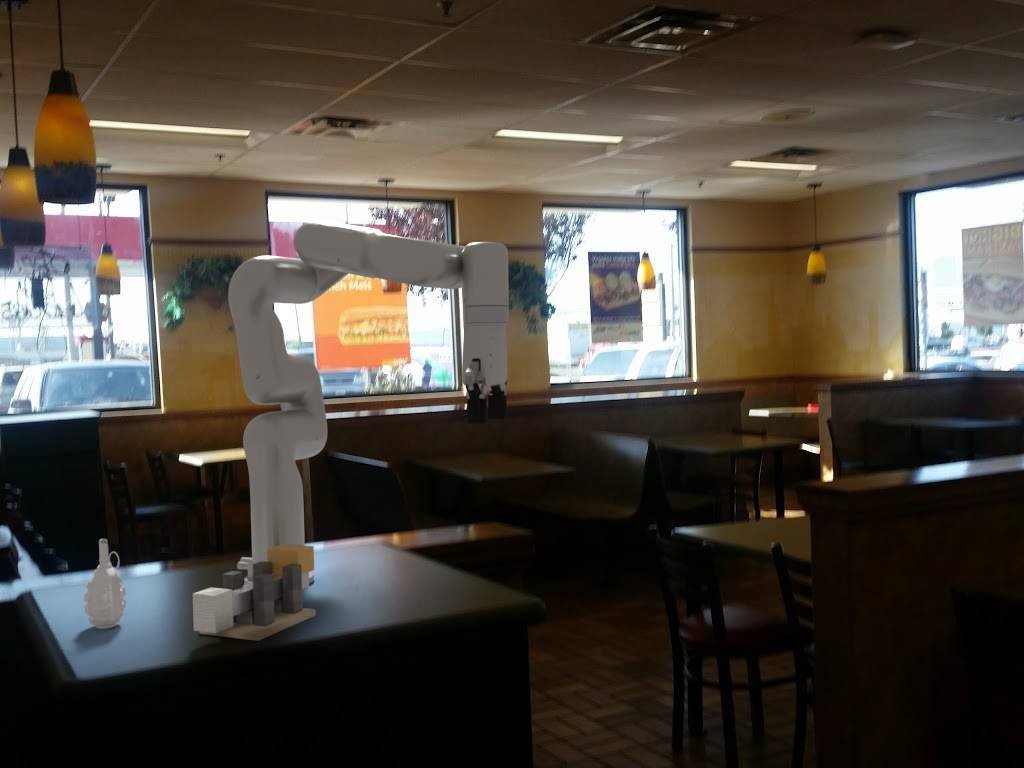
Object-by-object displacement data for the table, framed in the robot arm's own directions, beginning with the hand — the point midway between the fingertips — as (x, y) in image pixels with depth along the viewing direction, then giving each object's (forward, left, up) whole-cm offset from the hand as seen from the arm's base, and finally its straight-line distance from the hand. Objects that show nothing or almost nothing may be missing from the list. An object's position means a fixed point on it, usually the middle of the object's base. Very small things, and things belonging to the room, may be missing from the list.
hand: (487, 420), depth 173 cm
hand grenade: (-52, -33, -31) cm, 69 cm away
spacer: (-30, -15, -24) cm, 41 cm away
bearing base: (-30, -23, -31) cm, 48 cm away
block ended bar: (-30, -24, -29) cm, 48 cm away
